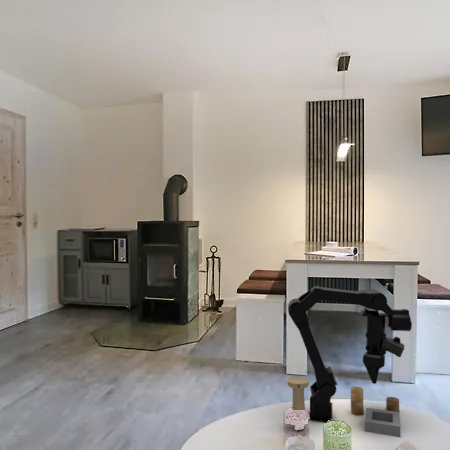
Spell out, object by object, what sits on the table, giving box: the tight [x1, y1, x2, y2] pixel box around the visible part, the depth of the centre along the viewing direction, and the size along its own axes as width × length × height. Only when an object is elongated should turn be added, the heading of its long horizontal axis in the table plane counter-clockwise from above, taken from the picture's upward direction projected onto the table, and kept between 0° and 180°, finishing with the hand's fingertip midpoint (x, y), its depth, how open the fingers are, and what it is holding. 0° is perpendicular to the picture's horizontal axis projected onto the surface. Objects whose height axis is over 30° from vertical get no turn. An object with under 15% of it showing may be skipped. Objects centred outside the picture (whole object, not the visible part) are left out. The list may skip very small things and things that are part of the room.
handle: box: [287, 377, 310, 411], centre depth 131 cm, size 5×6×15 cm
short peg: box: [385, 396, 400, 412], centre depth 142 cm, size 4×4×4 cm
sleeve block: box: [364, 407, 401, 438], centre depth 131 cm, size 10×10×3 cm
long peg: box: [350, 386, 365, 416], centre depth 141 cm, size 4×4×8 cm
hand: (375, 378), depth 136 cm, fingers open, 9 cm apart
